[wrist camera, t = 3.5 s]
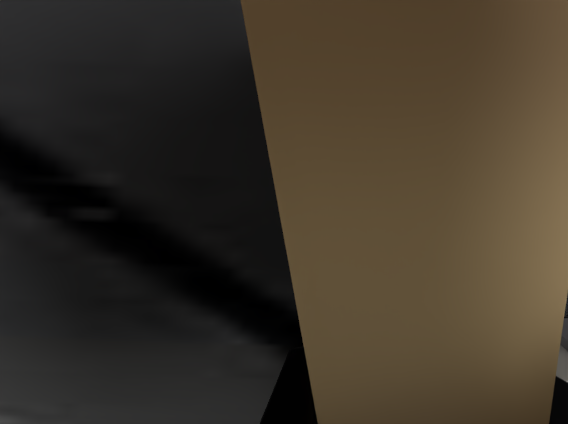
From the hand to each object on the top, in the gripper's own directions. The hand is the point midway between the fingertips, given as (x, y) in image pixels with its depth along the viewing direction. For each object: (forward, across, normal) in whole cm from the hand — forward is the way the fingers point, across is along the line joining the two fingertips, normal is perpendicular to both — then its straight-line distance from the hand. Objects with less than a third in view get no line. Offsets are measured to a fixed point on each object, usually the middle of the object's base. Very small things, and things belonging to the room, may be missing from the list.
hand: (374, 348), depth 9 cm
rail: (+2, 0, 0) cm, 2 cm away
